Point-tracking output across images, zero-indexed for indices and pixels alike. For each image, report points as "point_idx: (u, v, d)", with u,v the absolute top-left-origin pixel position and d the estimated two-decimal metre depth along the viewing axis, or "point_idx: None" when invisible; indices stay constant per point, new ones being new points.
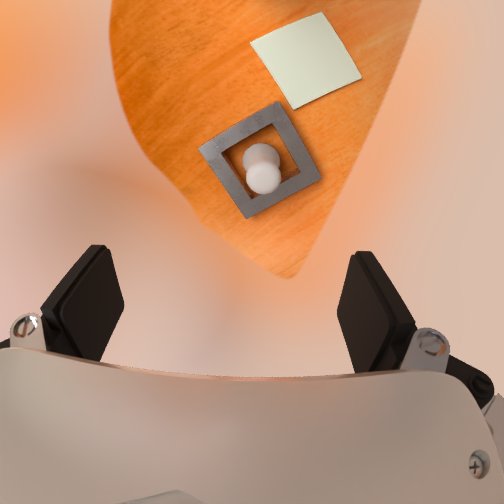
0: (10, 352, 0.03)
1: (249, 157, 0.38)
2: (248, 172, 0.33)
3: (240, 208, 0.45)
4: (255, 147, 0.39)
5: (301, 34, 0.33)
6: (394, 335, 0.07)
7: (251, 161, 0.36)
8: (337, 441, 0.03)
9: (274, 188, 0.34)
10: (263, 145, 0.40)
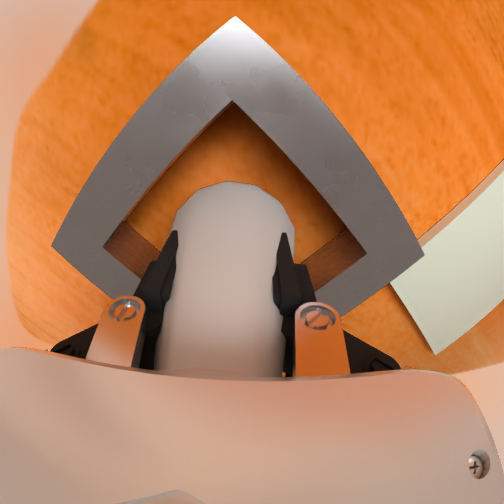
0: (10, 352, 0.03)
1: (254, 244, 0.09)
2: None
3: (67, 222, 0.12)
4: (284, 227, 0.11)
5: None
6: (281, 307, 0.08)
7: (250, 291, 0.07)
8: (337, 441, 0.03)
9: None
10: None
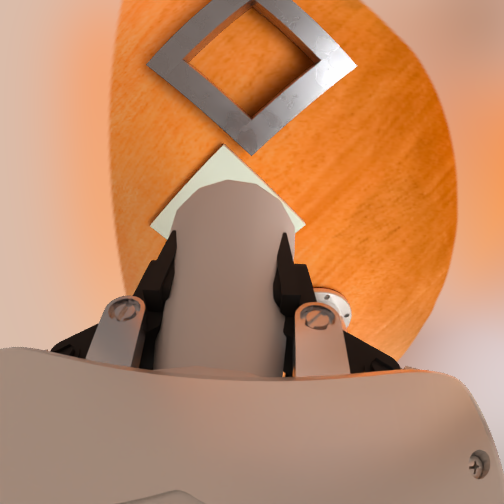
0: (10, 352, 0.03)
1: (254, 242, 0.09)
2: None
3: None
4: (284, 226, 0.11)
5: None
6: (281, 307, 0.08)
7: (251, 289, 0.07)
8: (337, 440, 0.03)
9: None
10: None
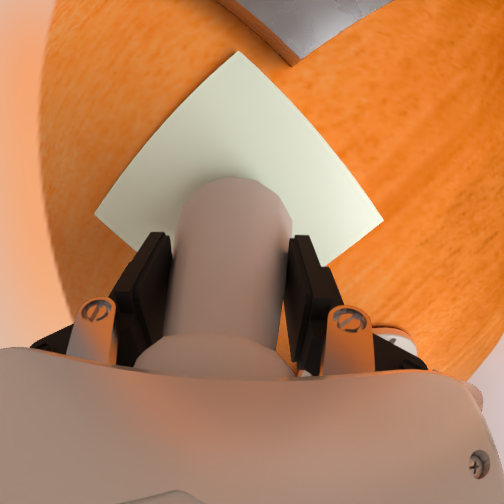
0: (10, 352, 0.03)
1: (253, 232, 0.10)
2: None
3: None
4: (281, 218, 0.12)
5: None
6: (312, 311, 0.08)
7: (249, 271, 0.08)
8: (337, 441, 0.03)
9: None
10: None
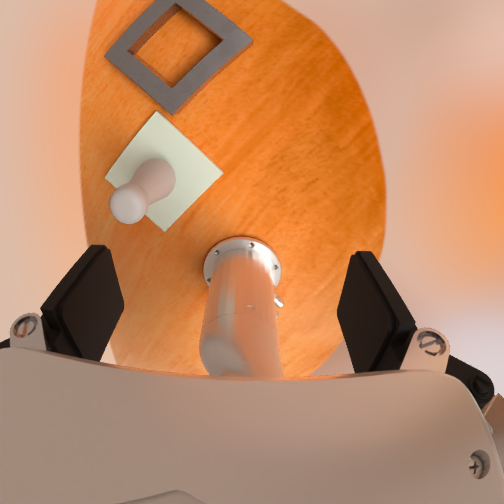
0: (10, 352, 0.03)
1: (150, 171, 0.31)
2: (126, 188, 0.26)
3: None
4: (166, 170, 0.34)
5: (174, 197, 0.39)
6: (394, 335, 0.07)
7: (145, 178, 0.30)
8: (337, 441, 0.03)
9: (120, 221, 0.27)
10: (171, 178, 0.34)
